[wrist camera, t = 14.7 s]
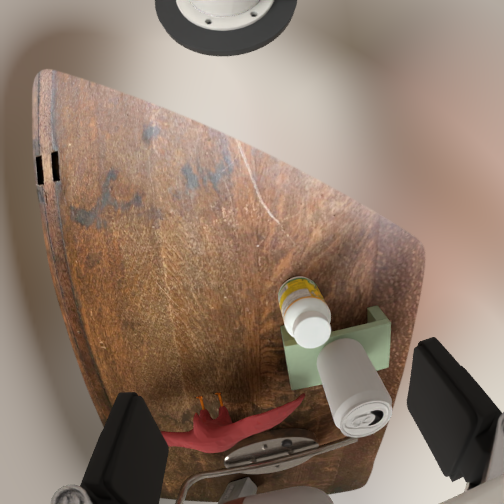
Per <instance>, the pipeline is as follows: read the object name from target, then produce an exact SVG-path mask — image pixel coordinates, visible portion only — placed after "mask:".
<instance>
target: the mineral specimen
mask: <svg viewBox="0 0 504 504" xmlns="http://www.w3.org/2000/svg"><path fill="white" fill-rule="evenodd" d="M256 490H257V486H256V485H255V484H254V483H253V481H251V479H250V478H249V477H246V478H244V479H240V480H237V481H234V482H230V483H229V484H228V486H227V488H226V490H225V492H224V493H223V495H222V497H221V499H220V500H219V502H218V504H224V503H226V502H228V501H231V500H233V499H237V498H240V497H247V496H250V495H256Z"/></svg>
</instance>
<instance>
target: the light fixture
mask: <svg viewBox="0 0 504 504" xmlns="http://www.w3.org/2000/svg"><path fill="white" fill-rule="evenodd" d="M357 441H358V439H357V438H354V437H345V438H342V439H339V440H336V441H333V442H330V443H327V444H324V445H320V446H319V444H318V440H317V436H316V434H315V433H314V432H312V431H310V430H307V429H302V428H283V429H275V430H269V431H264V432H260V433H257V434H253V435H251V436H249V437H247V438H244V439H242V440H240V441H238V442H237V443H236V444H235V445H234V446H233V447H231V448H230V449H228V450H226V451H225V453H224V465H225V467H227V468H222V469H216V470H210V471H204V472H199V473H196V474H193V475H191V476H190V477H188V478H187V479H186V480H185V481H184V483H183V484H182V486H181V488H180V491H179V494H178V497H177V500H176V503H175V504H183V502H184V499H185V497H186V494H187V491H188V489H189V488H190V486H191V485H192V484H193V483H195V482H196V481H198V480H200V479H203V478H209V477H217V476H224V475H231V474H237V473H243V474H264V473H272V472H277V471H281V470H285V469H288V468H291V467H294V466H297V465H299V464H301V463H303V462H305V461H307V460H308V459H310V458H311V457H313V456H314V455H318V454H321V453H324V452H327V451H331V450H334V449H337V448H340V447H343V446H346V445H349V444H352V443H354V442H357ZM224 504H333V501H332V500H331V498H330V497H329V496H328V495H327V494H326V493H325V492H324V491H322V490H320V489H317V488H314V487H309V486H296V487H290V488H286V489H281V490H276V491H272V492H267V493H261V494H256V495H250V496H247V497H240V498H237V499H233V500H231V501H228V502H226V503H224Z"/></svg>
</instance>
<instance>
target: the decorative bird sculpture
mask: <svg viewBox="0 0 504 504" xmlns="http://www.w3.org/2000/svg"><path fill="white" fill-rule="evenodd" d="M213 394H214V393H213ZM220 394H221V393H217V394H215V395H218V397H219V401H220V404H221V406H220V408H219V416H218V417H217V418H216V419H214V420H213V419H212V418H211V417H210V414H209V412H208V411H207V410H206V409H205V408H204V404H203V400H202V397H203V396H201V397H200V396H198V397H195V398H200V402H201V406H202V410H201V411H200V414H199V415H198V414H197V413H195V415H194V419H193V422H194V427H193V429H192V430H190V431H189V432H165V431H160V432H161V433H162V435H163V437H164V439H165V440H166V442H167V444H168V446H179V447H185V448H192V449H196V450H200V451H202V452H206V453H217V452H223V451H226V450H228V449H230V448H231V447H233V446H234V445H235V444H236V443H237V442H238V441H240V440H242V439H244V438H247V437H249V436H251V435H253V434H257V433H260V432H262V431H264V430H267V429H270V428H272V427H274V426H275V425H277V424H279V423H281V422H282V421H283V420H284V419H285V418H287V417H288V416H289V415H290V414H291V413H292V412H293V411H294V410H295V408H297V407H298V406H299V405H300V404H301V402H302V400H303V399H304V397H305V394H304V393H303V394H301V395H300V396H299V397H298V398H297V399H296V400H294V401H292V402H289V403H287V404H285V405H283V406H280V407H277V408H275V409H272V410H270V411H267V412H264V413H261V414H257V415H253V416H249V417H246V418H244V419H241V420H239V421H237V422H235V423H232V421H231V418H230V416H229V412H228V410H227V408H226V407H225V406H223V402H222V398H221V395H220ZM199 416H200V417H199Z"/></svg>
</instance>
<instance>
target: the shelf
mask: <svg viewBox="0 0 504 504" xmlns="http://www.w3.org/2000/svg"><path fill="white" fill-rule="evenodd" d="M280 328H281V334H282V340H283V346H284V352H285V358H286V365H287V370H288V375H289V380H290V385H291V390H296V389H301V388H306V387H311V386H316V385H321V384H322V381H321V378H320V375H319V372H318V369H317V358H318V355H319V353H320V352H321V350H322V349H323V348H324V347H325V346H326V345H328V344H329V343H331V342H333V341H335V340H338V339H343V338H350V339H354V340H356V341H358V342H359V343H360V344H361V345H362V346H363V348H364V350H365V351H366V353H367V355H368V357H369V359H370V360H371V362H372V364H373V366H374V368H375V369H376V371H377V370H381V369H384V368H388V367H389V356H390V336H391V322H390V321H389V319H388V318H387V317H386V316H385V314H384V313H383V312H382V311H381V309H380V308H379V307H378V306H373V307H369V308H367V324H363V325H358V326H354V327H350V328H346V329H341V330H337V331H332V332H331V335H330V337H329V339H328V340H327V341H326V342H325V343H324V344H323V345H321V346H319V347H316V348H304V347H302V346H300V345H299V344H298V343H297V342H296V341H295V338H294V337H293V336H291V335H290V334H289V333H288V332H287V330H286V328H285V325H284V326H280Z"/></svg>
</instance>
